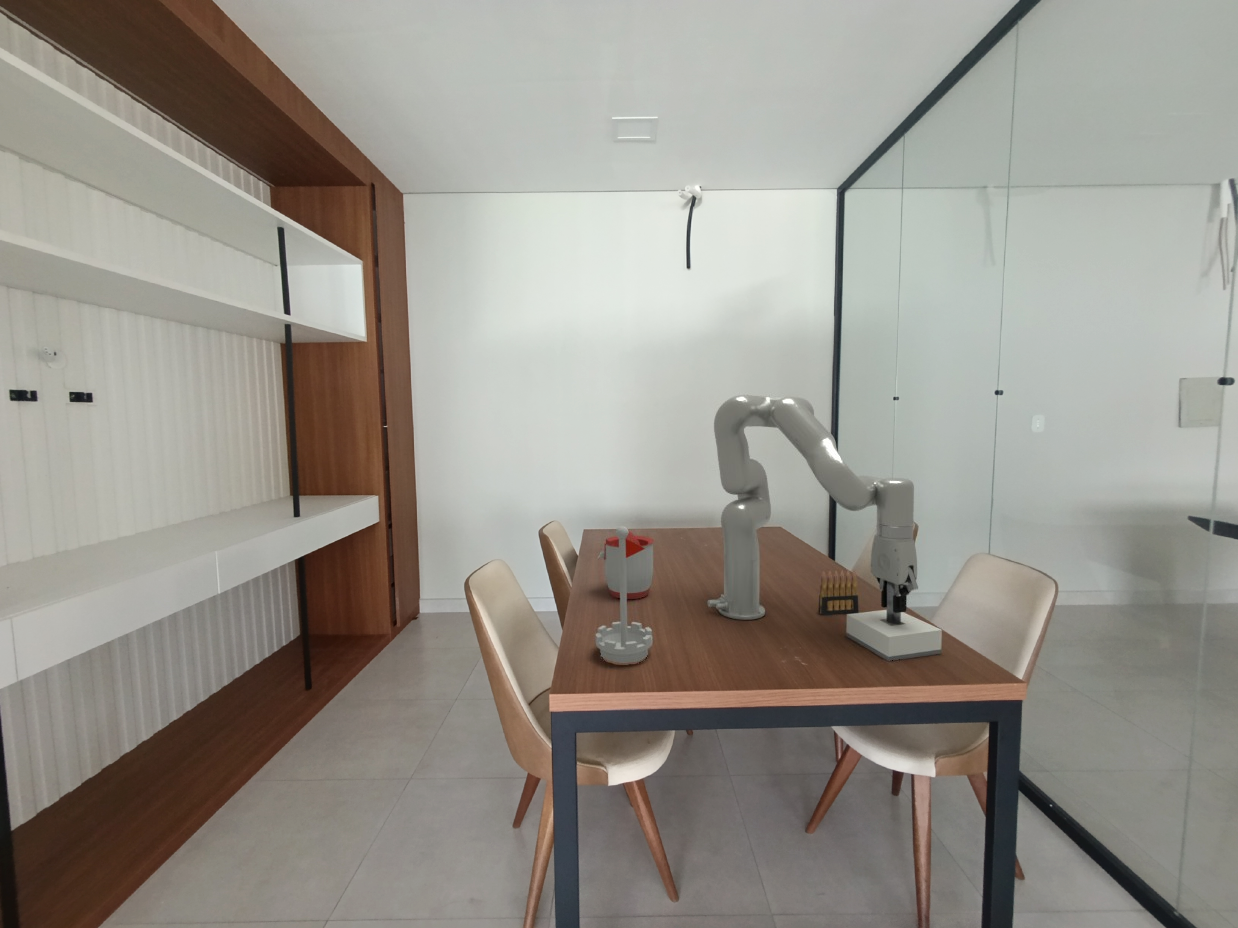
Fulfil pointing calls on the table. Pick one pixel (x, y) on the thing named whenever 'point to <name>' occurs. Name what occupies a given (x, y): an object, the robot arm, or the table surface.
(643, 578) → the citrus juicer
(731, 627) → the table surface
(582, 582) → the table surface
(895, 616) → the pin
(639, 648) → the flag stand
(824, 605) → the ammunition clip
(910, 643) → the socket block
